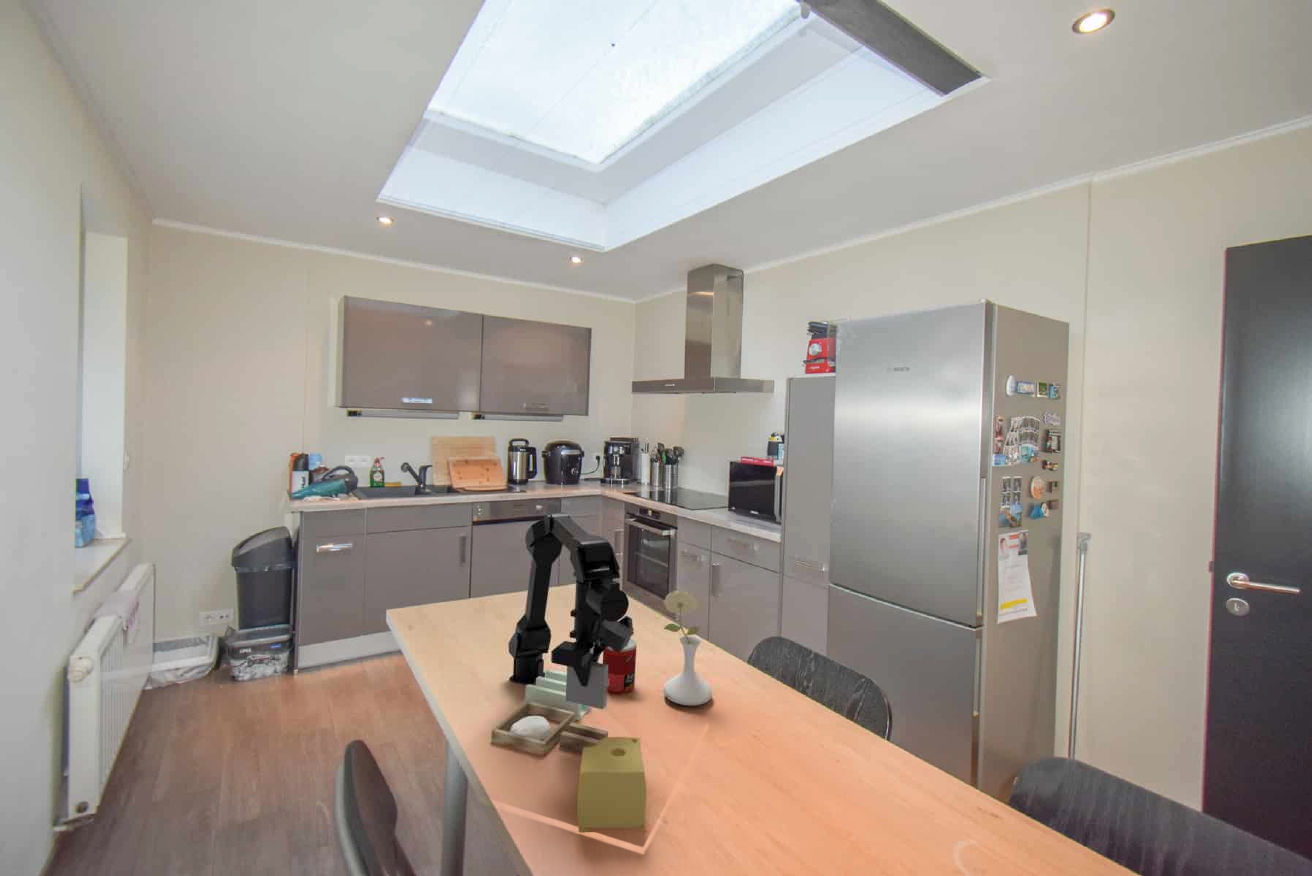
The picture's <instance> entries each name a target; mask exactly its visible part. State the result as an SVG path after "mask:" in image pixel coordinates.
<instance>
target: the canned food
mask: <svg viewBox="0 0 1312 876" xmlns="http://www.w3.org/2000/svg"><path fill="white" fill-rule="evenodd" d="M636 661H637V642H636V640H634V639H632V637H631V638H630V640H629V642H628V645H627V646H626V647H625V648H624V649H623V650H622V651H621V652H616V651H614V650H613V649H612V648H611V647H608V648H606V649H605V650H604V651H603V652H602V664H606V665H608V682H607V694H608V693H609V694H611V695H626V694H629V693H631V692H632V691H633V690H634V687H635V683H636V667H637V665H636V664H637V662H636Z"/></svg>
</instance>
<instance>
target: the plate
mask: <svg viewBox="0 0 1312 876" xmlns="http://www.w3.org/2000/svg"><path fill="white" fill-rule="evenodd" d="M566 673H567V681H566V701H569V702H573V703H577V704H582V705H586V706H590V707H591V708H594V709H599V710H604V709H605V708H606V707H607V703H608V701H607V700H608V692H607V682H608V665H606V664H603V663H600V662H598V663H597V662H591V668H590V674H589V679H588V684H587V686H586V687H584V686H581V684H580V682H579V679H578V677H577V675H576V673H575V671H574V668H573V667H569V666H566Z"/></svg>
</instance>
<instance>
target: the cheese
mask: <svg viewBox="0 0 1312 876" xmlns="http://www.w3.org/2000/svg"><path fill="white" fill-rule="evenodd" d="M641 742H642V741H641V737H632V736H629V737H626V736H612V737H611V736H610V737H609V736H608V737H607V738H603V739H600V741H599V742H598V744H597V745H596V746H593V747H585V748H584V749H583V753H582V755H581V761H580V769H579V778H578V779H579V781H578V790H577V809H576V810H577V813H576V814H577V825H578V833H596V831H594V830H591V829H611V828H614V829H615V828H616V829H617V828H620V829H621V828H643V823H644V819H645V814H646V807H647V806H646V804H647V781H646V774H645V767H644V762H643V758H642V751H641V750H642V746H641V744H642V743H641Z"/></svg>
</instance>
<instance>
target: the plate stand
mask: <svg viewBox="0 0 1312 876" xmlns="http://www.w3.org/2000/svg"><path fill="white" fill-rule="evenodd" d="M607 737H609V731H608V730H604V729H600V728H597V727H592V726H589V725H584V724H581V723H576V722H575V723H573V722H572V723H571V724H570V725H569V730H568V731H567V732H565V731H563V732H562V733H561V734H560V740H559V747H558V749H559V750H562V751H565V752H566V751H567V752H569V753H574V754H577V755H580V756H582V753H583V749H584V748H585V747H593V746H596V745H597V744H598V742H599V741H600V739H603V738H607Z"/></svg>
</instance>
